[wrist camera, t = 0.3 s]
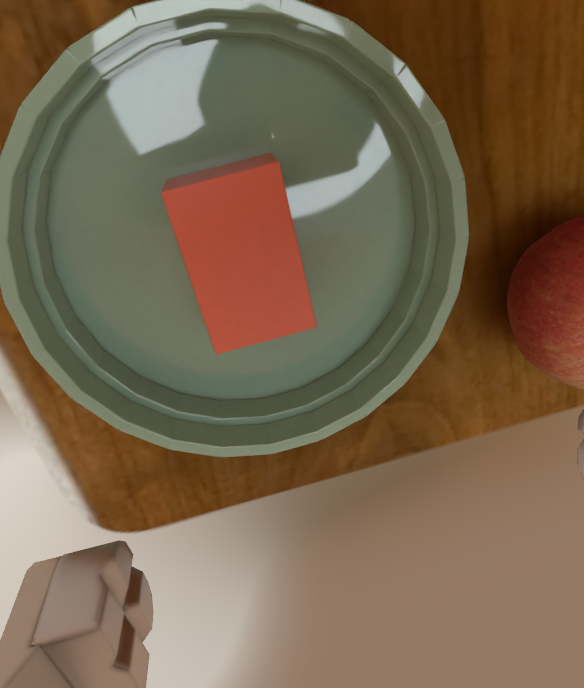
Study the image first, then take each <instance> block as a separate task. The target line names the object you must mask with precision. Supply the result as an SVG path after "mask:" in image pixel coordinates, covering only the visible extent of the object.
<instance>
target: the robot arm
mask: <svg viewBox="0 0 584 688" xmlns="http://www.w3.org/2000/svg"><path fill="white" fill-rule="evenodd" d="M578 429H579V430H580V431H581V432H582V433H583V434H584V410H582V412H581V414H580V416H579V420H578ZM577 464H578V467H579V470H580V473H581V476H582V478H583V480H584V440H583V441H582V443H581V444H580V445H579V447H578V448H577ZM132 558H133V554H132V552H131V550H130V548H129V547H128V545H127V544H126V542H125V541H116V542H112V543H108V544H104V545H100V546H96V547H92V548H89V549H84V550H80V551H77V552H73V553H69V554H65V555H63V556H60V557H56V558H52V559H48V560H44V561H40V562H36V563H34V564H33V565H32V566H31V567H30V568H29V569H28V570H27V572H26V574H25V577H24V579H23V582H22V585H21V587H20V590H19V593H18V595H17V598H16V601H15V603H14V606H13V608H12V611H11V614H10V617H9V619H8V622H7V624H6V627H5V630H4V632H3V635H2V638H1V640H0V688H146V680H147V671H148V661H149V653H148V651H147V650H146V648H145V646H144V645H143V643H142V642H143V641H144V639H145V638H146V636H147V635H148V633H149V632H150V630H151V629H152V622H153V604H152V594H151V590H150V587H149V584H148V581H147V579H146V577H145V576H144V574H143V572H142V571H140V570H138V569H136V568H134V567H131V565H132Z"/></svg>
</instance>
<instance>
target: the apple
mask: <svg viewBox="0 0 584 688" xmlns="http://www.w3.org/2000/svg"><path fill="white" fill-rule="evenodd" d="M507 308H508V316H509V321H510V326H511V329H512V332H513V335H514V338H515V341H516V343H517V345H518V348H519V349H520V351H521V352H522V354H523V355H524V356H525V358H526V359H527V360H528V361H529V362H531V363H532V364H533V365H534V366H535V367H537V368H538V369H540V370H541V371H543V372H544V373H546V374H548V375H549V376H551V377H553V378H555V379H557V380H559V381H561V382H563V383H565V384H568V385H571V386H574V387H577V388H581V389H584V216H580V217H577V218H573V219H571V220H568V221H566V222H564V223H562V224H560V225H558V226H557V227H555V228H554V229H552V230H551V231H549V232H548V233H546V234H545V235H544V236H542V237H541V238H540V239H538V240H537V241H536V242H534V243H533V244H532V245H531V246H530V247H529V248H528V249H527V250H526V251H525V252H524V253H523V254H522V256H521V257H520V259H519V261H518V262H517V264H516V266H515V268H514V270H513V272H512V275H511V278H510V283H509V287H508V295H507Z"/></svg>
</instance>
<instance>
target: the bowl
mask: <svg viewBox="0 0 584 688" xmlns="http://www.w3.org/2000/svg"><path fill="white" fill-rule="evenodd" d="M266 153H271V154H272V155H273V156H274V157H275V158H276V159H277V160H278V161H279V163H280V168H281V172H282V176H283V181H284V185H285V190H286V194H287V198H288V203H289V207H290V211H291V216H292V220H293V225H294V229H295V233H296V238H297V242H298V246H299V251H300V255H301V259H302V264H303V268H304V273H305V277H306V281H307V286H308V290H309V294H310V299H311V303H312V308H313V312H314V316H315V321H316V325H317V327H316V328H312V329H309V330H305V331H301V332H298V333H294V334H290V335H287V336H283V337H279V338H276V339H272V340H268V341H265V342H261V343H257V344H254V345H250V346H246V347H243V348H239V349H235V350H232V351H228V352H224V353H221V354H217V355H216V354H215V351H214V348H213V345H212V342H211V339H210V336H209V333H208V330H207V328H206V325H205V322H204V319H203V316H202V313H201V310H200V307H199V304H198V301H197V298H196V295H195V292H194V289H193V286H192V283H191V281H190V278H189V275H188V272H187V269H186V266H185V263H184V260H183V257H182V254H181V251H180V248H179V245H178V242H177V239H176V236H175V234H174V231H173V228H172V225H171V222H170V219H169V216H168V213H167V210H166V207H165V204H164V201H163V198H162V195H161V191H162V189H163V187H164V185H165V182H166V180H168V179H171V178H175V177H179V176H183V175H187V174H190V173H194V172H198V171H202V170H206V169H209V168H213V167H217V166H221V165H225V164H228V163H232V162H236V161H240V160H244V159H247V158H251V157H255V156H259V155H263V154H266ZM464 178H465V175H464V173H463V170H462V167H461V164H460V161H459V158H458V155H457V152H456V149H455V147H454V144H453V141H452V138H451V135H450V132H449V129H448V126H447V124H446V121H445V119H444V117H443V115H442V114H441V113H440V111H439V110H438V108H437V107H436V105H435V104H434V103H433V101H432V100H431V98H430V97H429V95H428V94H427V93H426V91H425V90H424V88H423V87H422V85H421V84H420V83H419V81H418V80H417V78H416V77H415V75H414V74H413V73H412V71H411V70H410V68H409V67H408V65H405V62H404V61H402V60H401V59H400V58H399V57H397V56H396V55H395V54H394V53H392V52H391V51H390V50H389V49H387V48H386V47H385V46H383V45H382V44H381V43H380V42H378V41H377V40H376V39H375V38H373V37H372V36H371V35H370V34H368V33H367V32H366V31H365V30H363V29H362V28H361V27H360V26H358V25H357V24H356V23H355V22H353V21H350V19H348V18H346V17H343V16H340V15H338V14H335V13H333V12H330V11H328V10H325V9H323V8H320V7H317V6H315V5H312V4H310V3H307V2H305V1H302V0H154V1H150V2H146V3H142V4H138V5H134V6H132V8H128V9H126V10H125V11H123V12H122V13H120V14H119V15H117V16H115V17H114V18H112V19H111V20H109V21H108V22H106V23H104V24H103V25H101V26H100V27H98V28H96V29H95V30H93V31H92V32H90V33H89V34H87V35H85V36H84V37H82V38H81V39H79V40H78V41H76V42H74V43H73V44H71V45H70V46H69V47H68V48H67V49H65V50H64V52H63V53H62V54H61V55H60V56H59V58H58V59H57V60H56V61H55V63H54V64H53V65H52V66H51V67H50V69H49V70H48V71H47V72H46V74H45V75H44V76H43V77H42V78H41V80H40V81H39V82H38V83H37V85H36V86H35V87H34V88H33V89H32V91H31V92H30V93H29V94H28V96H27V97H26V98H25V99H24V100H23V102H22V103H21V106H20V107H19V109H18V111H17V114H16V116H15V119H14V122H13V124H12V127H11V129H10V132H9V134H8V137H7V140H6V142H5V145H4V147H3V150H2V152H1V155H0V287H1V292H2V296H3V300H4V303H5V305H6V307H7V309H8V311H9V313H10V315H11V317H12V319H13V320H14V322H15V324H16V326H17V328H18V330H19V332H20V334H21V335H22V337H23V339H24V341H25V343H26V345H27V347H28V349H29V351H30V352H31V354H32V355H33V357H34V358H35V359H36V360H37V362H38V363H39V364H40V365H41V366H42V367H43V368H44V369H45V370H46V371H47V372H48V374H49V375H50V376H51V377H52V378H53V379H54V380H55V381H56V382H57V383H58V384H59V386H60V387H61V388H62V389H63V390H64V391H65V392H66V393H67V394H68V395H69V396H70V398H73V400H74V401H76V402H77V403H79V404H80V405H82V406H83V407H85V408H86V409H88V410H89V411H91V412H92V413H94V414H95V415H97V416H98V417H100V418H101V419H103V420H104V421H106V422H107V423H109V424H110V425H112V426H113V427H115V428H116V429H119V430H120V431H122V432H125V433H127V434H130V435H133V436H135V437H138V438H140V439H143V440H146V441H148V442H151V443H154V444H156V445H159V446H161V447H164V448H167V449H170V450H176V451H183V452H189V453H196V454H203V455H209V456H216V457H234V456H249V455H265V454H274V453H277V452H281V451H285V450H288V449H292V448H295V447H299V446H303V445H306V444H310V443H313V442H317V441H320V440H322V439H324V438H326V437H328V436H330V435H332V434H334V433H336V432H337V431H339V430H341V429H343V428H345V427H347V426H349V425H351V424H353V423H355V422H357V421H358V420H360V419H362V418H364V417H365V416H367V415H368V414H370V413H371V412H372V411H373V410H374V409H376V408H377V407H378V406H379V405H380V404H382V403H383V402H384V401H385V400H386V399H387V398H389V397H390V396H391V395H392V394H393V393H395V392H396V391H397V390H398V389H399V388H401V387H402V386H403V385H404V383H406V382H407V381H408V379H409V378H410V377H411V375H412V374H413V373H414V371H415V370H416V369H417V368H418V366H419V365H420V364H421V362H422V361H423V360H424V358H425V357H426V356H427V354H428V353H429V352H430V351H431V349H432V348H433V347H434V345H435V344H436V342H437V341H438V339H439V336H440V334H441V332H442V330H443V328H444V325H445V323H446V321H447V319H448V316H449V314H450V312H451V310H452V308H453V305H454V303H455V301H456V299H457V296H458V292H459V291H460V285H461V280H462V275H463V269H464V264H465V258H466V253H467V248H468V242H469V238H468V237H469V225H468V211H467V196H466V182H465V179H464Z"/></svg>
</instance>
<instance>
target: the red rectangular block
mask: <svg viewBox="0 0 584 688" xmlns="http://www.w3.org/2000/svg"><path fill="white" fill-rule="evenodd" d="M161 195H162V198H163V201H164V204H165V207H166V210H167V213H168V216H169V219H170V222H171V225H172V228H173V231H174V234H175V236H176V239H177V242H178V245H179V248H180V251H181V254H182V257H183V260H184V263H185V266H186V269H187V272H188V275H189V278H190V281H191V283H192V286H193V289H194V292H195V295H196V298H197V301H198V304H199V307H200V310H201V313H202V316H203V319H204V322H205V325H206V328H207V330H208V333H209V336H210V339H211V342H212V345H213V348H214V351H215V354H216V355H217V354H221V353H224V352H228V351H232V350H235V349H239V348H243V347H246V346H250V345H254V344H257V343H261V342H265V341H268V340H272V339H276V338H279V337H283V336H287V335H290V334H294V333H298V332H301V331H305V330H309V329H312V328H316V327H317V325H316V321H315V316H314V312H313V308H312V303H311V299H310V294H309V290H308V286H307V281H306V277H305V273H304V268H303V264H302V259H301V255H300V251H299V246H298V242H297V238H296V233H295V229H294V225H293V220H292V216H291V211H290V207H289V203H288V198H287V194H286V190H285V185H284V181H283V176H282V172H281V168H280V163H279V161H278V160H277V159H276V158H275V157H274V156H273V155H272V154H271V153H266V154H263V155H259V156H255V157H251V158H247V159H244V160H240V161H236V162H232V163H228V164H225V165H221V166H217V167H213V168H209V169H206V170H202V171H198V172H194V173H190V174H187V175H183V176H179V177H175V178H171V179H168V180H166V182H165V185H164V187H163V189H162V191H161Z"/></svg>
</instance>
